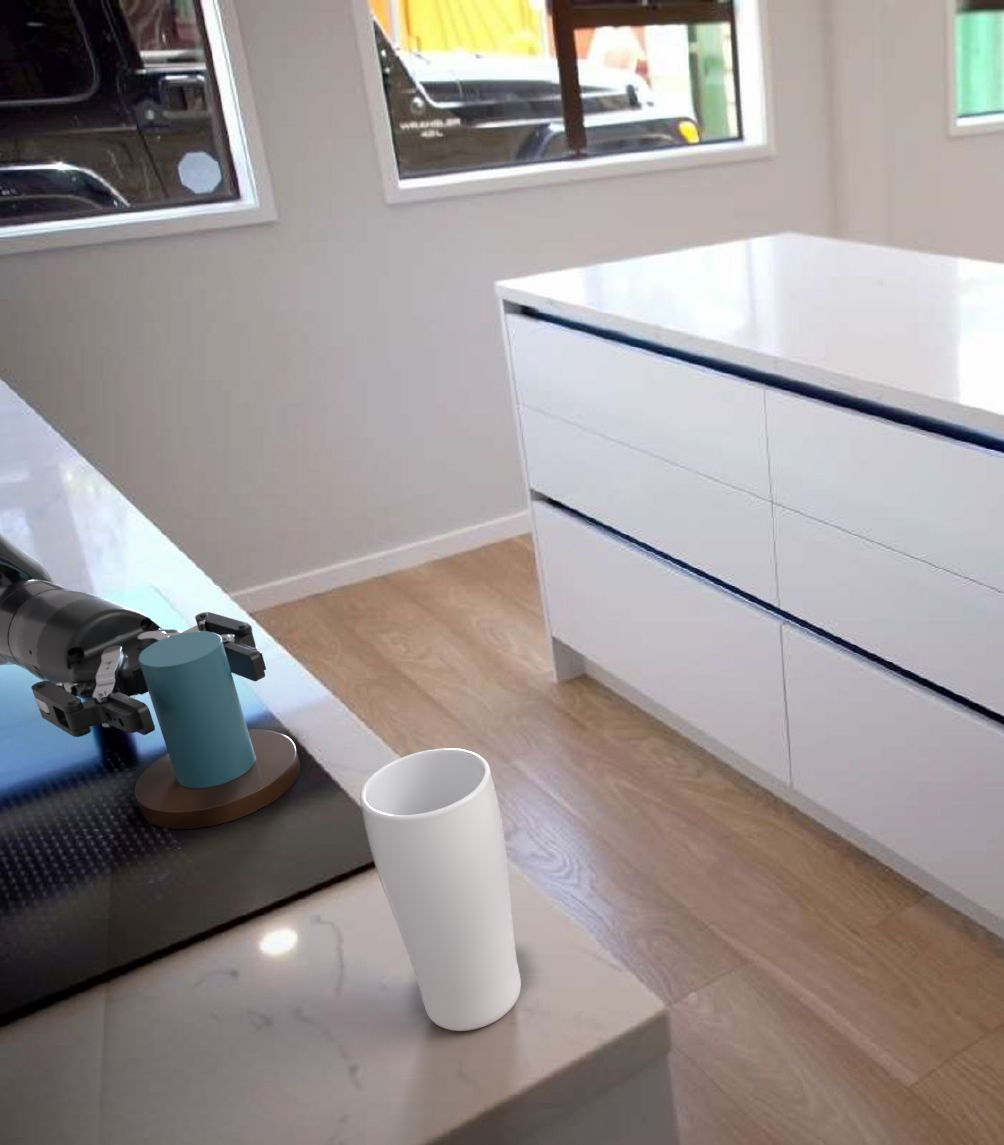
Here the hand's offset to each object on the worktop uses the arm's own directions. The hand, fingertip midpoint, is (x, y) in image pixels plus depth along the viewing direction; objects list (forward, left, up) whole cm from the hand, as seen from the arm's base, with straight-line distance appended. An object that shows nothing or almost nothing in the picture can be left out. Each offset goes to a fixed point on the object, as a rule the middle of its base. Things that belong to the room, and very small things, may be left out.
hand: (205, 693), depth 93 cm
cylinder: (-1, +1, -7) cm, 7 cm away
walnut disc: (-1, +1, -8) cm, 8 cm away
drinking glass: (+11, -32, -9) cm, 35 cm away
